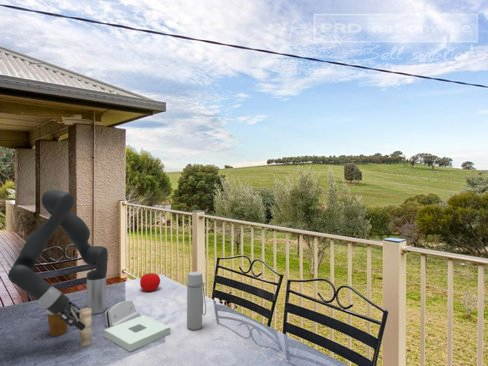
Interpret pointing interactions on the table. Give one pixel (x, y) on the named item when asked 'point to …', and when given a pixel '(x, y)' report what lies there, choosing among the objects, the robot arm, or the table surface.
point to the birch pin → (86, 320)
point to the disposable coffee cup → (56, 324)
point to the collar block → (130, 339)
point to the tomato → (149, 282)
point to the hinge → (120, 313)
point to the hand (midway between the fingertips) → (84, 324)
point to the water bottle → (195, 300)
